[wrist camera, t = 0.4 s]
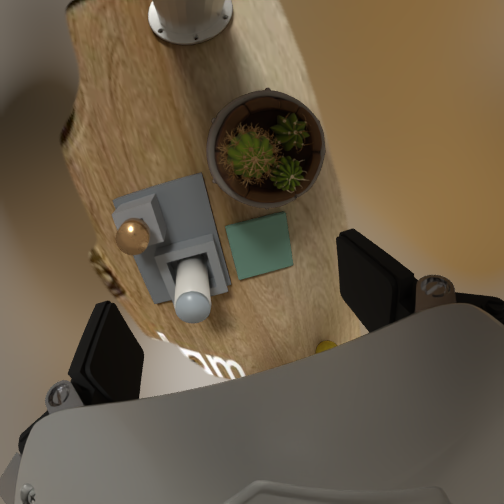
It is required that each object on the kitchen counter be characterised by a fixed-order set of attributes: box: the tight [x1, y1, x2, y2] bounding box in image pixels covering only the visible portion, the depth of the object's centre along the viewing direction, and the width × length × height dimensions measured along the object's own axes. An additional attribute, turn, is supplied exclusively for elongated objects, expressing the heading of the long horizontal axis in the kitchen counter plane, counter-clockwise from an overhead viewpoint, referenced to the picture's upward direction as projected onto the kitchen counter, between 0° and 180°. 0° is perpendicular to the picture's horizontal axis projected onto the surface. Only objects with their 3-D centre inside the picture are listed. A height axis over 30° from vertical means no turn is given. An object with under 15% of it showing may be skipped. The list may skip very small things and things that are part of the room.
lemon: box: [316, 341, 337, 354], centre depth 59 cm, size 6×6×8 cm
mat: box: [225, 211, 293, 280], centre depth 47 cm, size 10×10×1 cm
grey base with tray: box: [112, 172, 231, 304], centre depth 42 cm, size 20×14×6 cm
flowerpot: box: [206, 88, 325, 209], centre depth 31 cm, size 14×15×20 cm
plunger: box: [116, 218, 151, 255], centre depth 36 cm, size 4×4×6 cm
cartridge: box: [174, 254, 211, 323], centre depth 41 cm, size 5×5×12 cm
